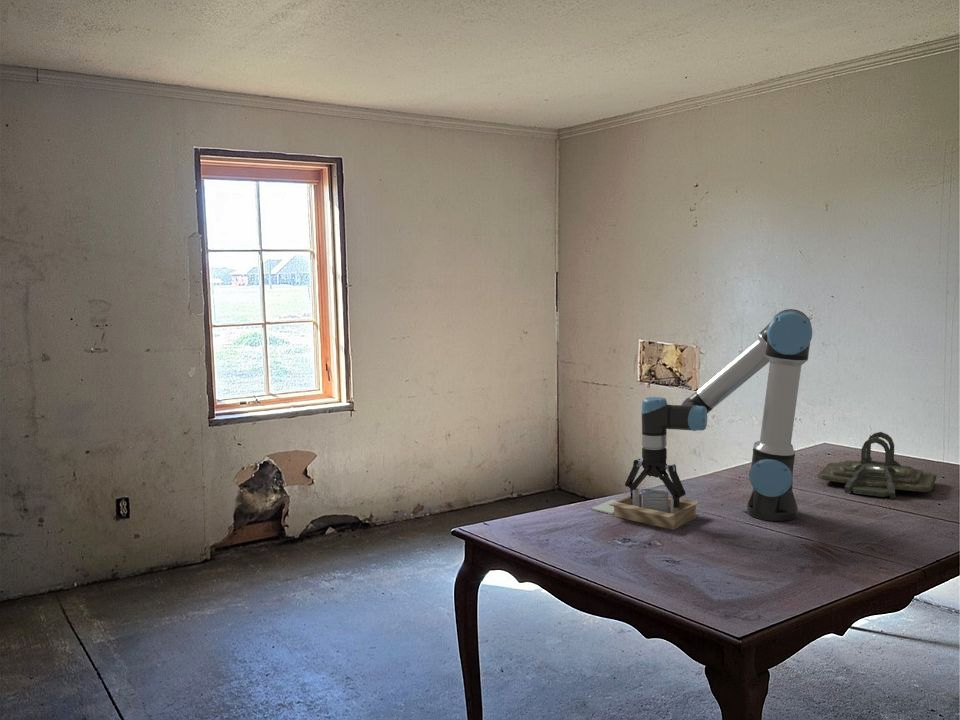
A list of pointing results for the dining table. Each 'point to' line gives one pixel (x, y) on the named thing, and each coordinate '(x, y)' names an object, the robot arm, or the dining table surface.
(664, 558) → the dining table surface
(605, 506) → the mat
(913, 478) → the olive flat handled piece
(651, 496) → the medicine box
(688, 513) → the wooden tray
